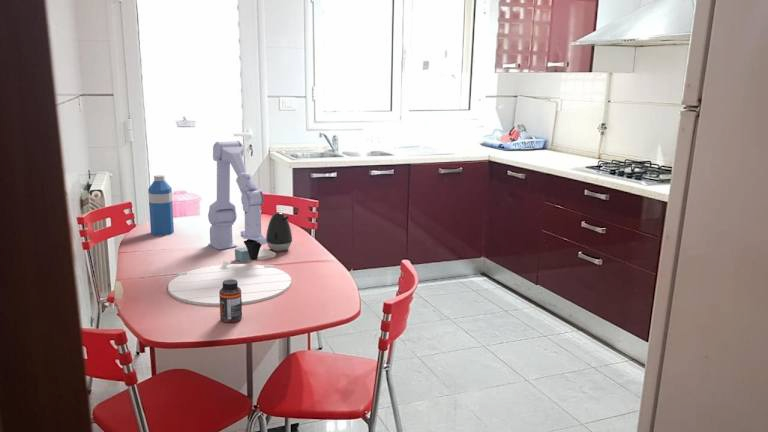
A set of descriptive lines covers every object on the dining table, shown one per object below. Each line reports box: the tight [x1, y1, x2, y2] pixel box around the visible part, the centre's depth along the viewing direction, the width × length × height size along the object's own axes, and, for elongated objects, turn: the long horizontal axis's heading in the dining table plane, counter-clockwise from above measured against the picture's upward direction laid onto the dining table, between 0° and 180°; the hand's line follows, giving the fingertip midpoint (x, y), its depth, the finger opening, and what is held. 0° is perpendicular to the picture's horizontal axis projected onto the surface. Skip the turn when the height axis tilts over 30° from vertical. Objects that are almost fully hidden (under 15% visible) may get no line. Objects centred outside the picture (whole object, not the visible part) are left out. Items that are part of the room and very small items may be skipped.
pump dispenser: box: [265, 211, 293, 252], centre depth 237 cm, size 10×10×15 cm
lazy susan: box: [167, 260, 292, 307], centre depth 198 cm, size 40×39×3 cm
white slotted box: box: [240, 246, 277, 261], centre depth 232 cm, size 15×8×2 cm, turn 43°
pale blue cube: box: [234, 246, 252, 263], centre depth 224 cm, size 5×5×4 cm
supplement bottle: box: [219, 279, 243, 324], centre depth 168 cm, size 6×6×11 cm
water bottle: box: [147, 174, 175, 237], centre depth 257 cm, size 9×9×25 cm
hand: (253, 259), depth 219 cm, fingers closed
